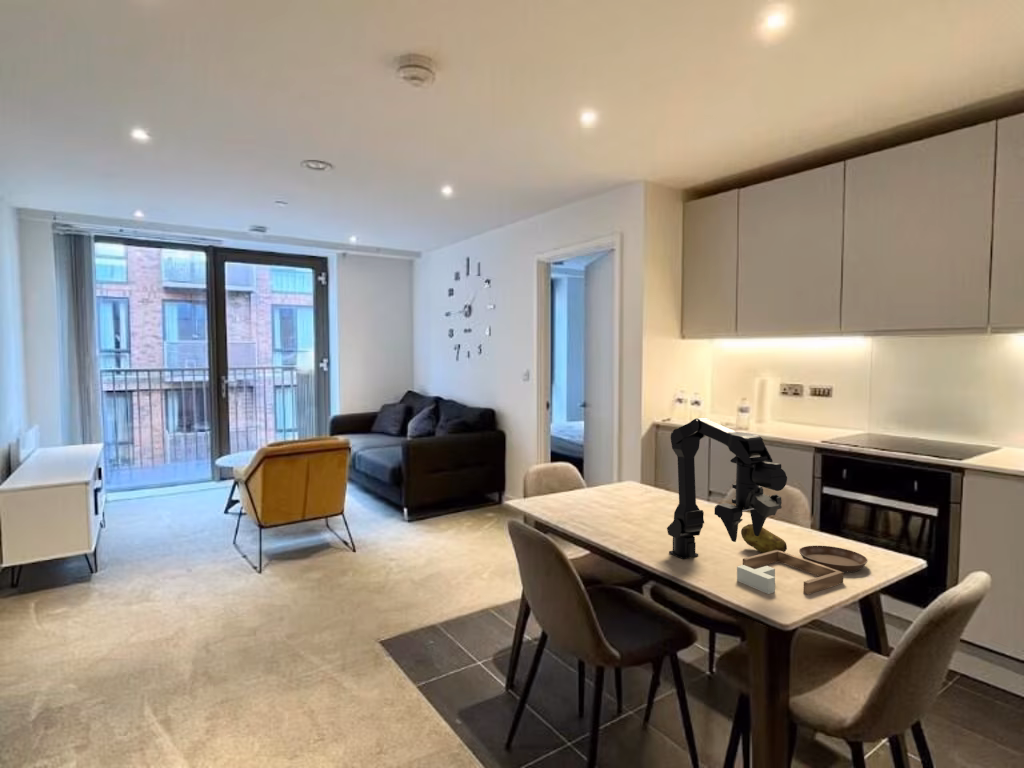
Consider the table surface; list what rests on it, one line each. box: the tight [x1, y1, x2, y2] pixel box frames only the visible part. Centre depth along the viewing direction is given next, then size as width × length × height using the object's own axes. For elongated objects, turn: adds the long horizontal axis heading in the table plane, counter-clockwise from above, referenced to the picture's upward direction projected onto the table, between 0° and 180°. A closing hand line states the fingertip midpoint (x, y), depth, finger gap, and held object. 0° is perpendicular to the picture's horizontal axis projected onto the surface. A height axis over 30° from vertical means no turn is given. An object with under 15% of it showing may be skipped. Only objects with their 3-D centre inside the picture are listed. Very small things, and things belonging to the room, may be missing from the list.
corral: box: [742, 550, 844, 595], centre depth 160 cm, size 20×15×3 cm
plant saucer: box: [798, 545, 869, 573], centre depth 169 cm, size 18×18×3 cm
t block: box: [736, 564, 776, 595], centre depth 154 cm, size 10×8×4 cm
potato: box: [740, 523, 788, 554], centre depth 180 cm, size 8×13×8 cm, turn 38°
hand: (745, 538), depth 154 cm, fingers open, 9 cm apart
